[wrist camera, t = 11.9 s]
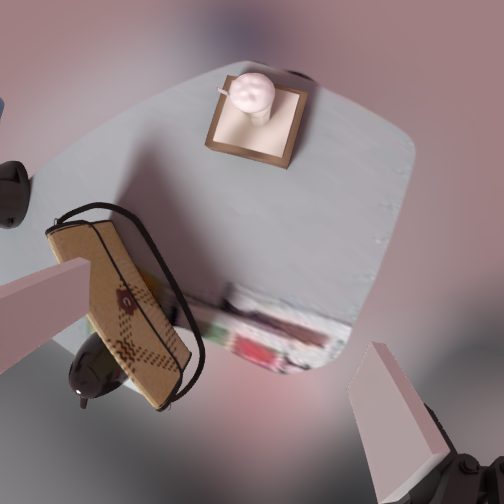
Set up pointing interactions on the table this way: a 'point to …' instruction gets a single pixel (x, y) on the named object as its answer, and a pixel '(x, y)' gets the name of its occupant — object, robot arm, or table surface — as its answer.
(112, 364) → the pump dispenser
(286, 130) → the dock
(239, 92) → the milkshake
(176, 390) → the clutch purse
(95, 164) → the table surface
